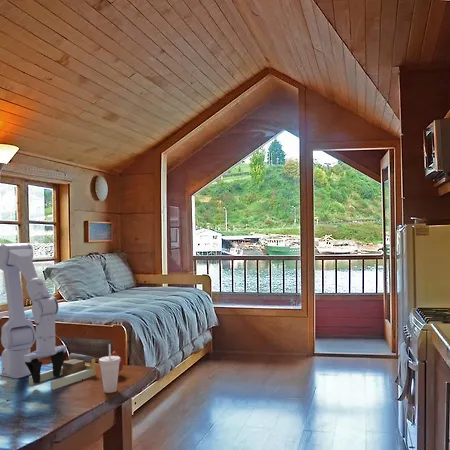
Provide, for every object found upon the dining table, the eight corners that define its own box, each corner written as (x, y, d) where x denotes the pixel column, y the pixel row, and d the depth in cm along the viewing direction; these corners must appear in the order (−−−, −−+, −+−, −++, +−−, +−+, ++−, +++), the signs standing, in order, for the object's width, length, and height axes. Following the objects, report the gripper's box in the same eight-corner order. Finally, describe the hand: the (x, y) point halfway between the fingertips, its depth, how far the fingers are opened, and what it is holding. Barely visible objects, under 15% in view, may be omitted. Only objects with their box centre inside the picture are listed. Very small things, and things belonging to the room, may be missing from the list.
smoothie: (101, 395, 152) (100, 347, 152) (97, 389, 158) (96, 343, 158) (123, 392, 154) (122, 344, 154) (118, 386, 160) (117, 340, 160)
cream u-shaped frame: (29, 384, 165) (28, 364, 165) (72, 370, 179) (72, 352, 179) (53, 389, 159) (52, 369, 158) (96, 374, 173) (96, 356, 173)
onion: (119, 378, 168) (118, 354, 168) (102, 378, 169) (101, 353, 169) (126, 373, 174) (125, 349, 174) (109, 373, 175) (109, 349, 175)
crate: (62, 377, 172) (62, 362, 172) (75, 373, 176) (74, 358, 176) (72, 379, 169) (72, 364, 169) (85, 375, 173) (85, 360, 173)
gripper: (34, 342, 155) (35, 388, 155) (72, 333, 167) (73, 375, 167) (19, 340, 159) (20, 384, 159) (57, 331, 171) (58, 372, 171)
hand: (46, 379), depth 163 cm, fingers open, 7 cm apart
